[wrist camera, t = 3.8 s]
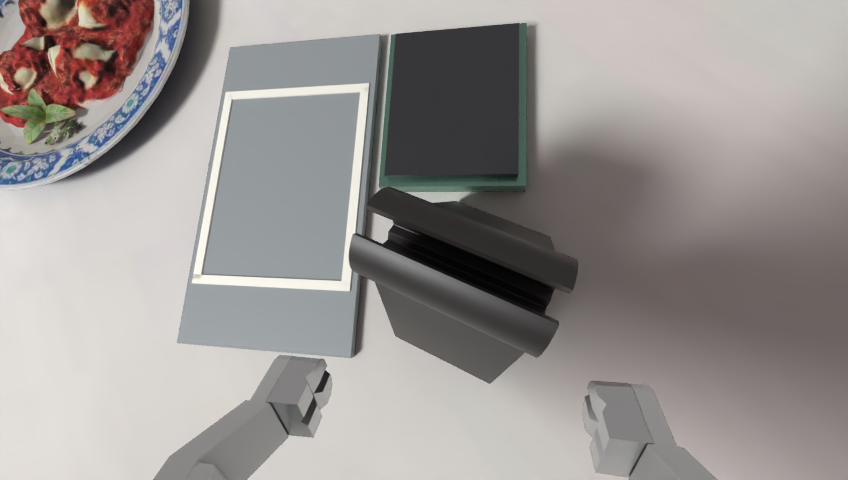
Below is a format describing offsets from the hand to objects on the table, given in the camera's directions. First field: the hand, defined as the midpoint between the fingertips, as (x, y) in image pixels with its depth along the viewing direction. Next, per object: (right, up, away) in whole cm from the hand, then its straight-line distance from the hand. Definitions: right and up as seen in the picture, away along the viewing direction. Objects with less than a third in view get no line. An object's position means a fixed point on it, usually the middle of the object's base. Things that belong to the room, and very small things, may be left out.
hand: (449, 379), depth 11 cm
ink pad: (+1, +13, +12) cm, 18 cm away
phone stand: (+2, +1, +10) cm, 10 cm away
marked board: (-10, +8, +13) cm, 19 cm away
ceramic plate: (-31, +20, +20) cm, 42 cm away
